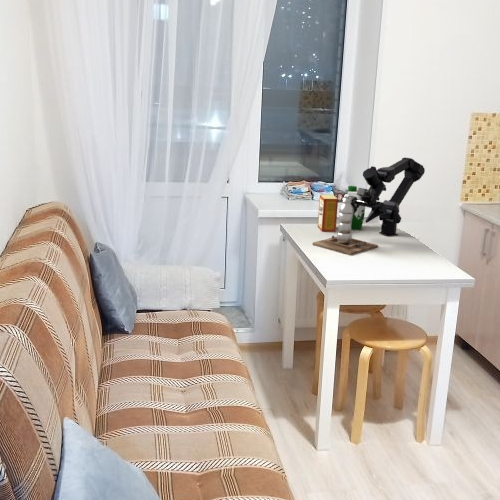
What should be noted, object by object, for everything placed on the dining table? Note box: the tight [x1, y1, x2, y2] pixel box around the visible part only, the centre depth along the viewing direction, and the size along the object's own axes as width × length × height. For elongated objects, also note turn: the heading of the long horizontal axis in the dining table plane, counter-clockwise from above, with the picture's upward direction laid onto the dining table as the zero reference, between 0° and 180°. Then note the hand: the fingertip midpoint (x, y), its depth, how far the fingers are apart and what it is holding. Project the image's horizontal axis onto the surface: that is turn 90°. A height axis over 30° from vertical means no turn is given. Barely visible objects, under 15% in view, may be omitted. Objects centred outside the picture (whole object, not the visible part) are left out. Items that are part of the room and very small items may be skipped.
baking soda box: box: [317, 194, 339, 233], centre depth 311 cm, size 10×6×16 cm
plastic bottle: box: [336, 196, 354, 244], centre depth 283 cm, size 6×7×20 cm
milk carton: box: [346, 185, 366, 231], centre depth 315 cm, size 9×9×20 cm
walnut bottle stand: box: [312, 235, 379, 256], centre depth 285 cm, size 20×20×3 cm
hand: (357, 220), depth 287 cm, fingers open, 9 cm apart
